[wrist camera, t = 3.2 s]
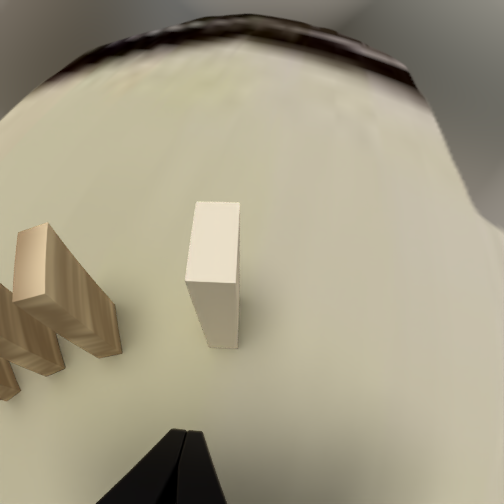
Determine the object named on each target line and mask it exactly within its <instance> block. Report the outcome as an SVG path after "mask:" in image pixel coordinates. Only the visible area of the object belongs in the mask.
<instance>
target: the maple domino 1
mask: <svg viewBox="0 0 504 504" xmlns="http://www.w3.org/2000/svg"><path fill="white" fill-rule="evenodd" d="M20 391H21V390H20V388H19V385H18V383H17V381H16V378H15V376H14V373H13V371H12V368H11V366H10V363H9V361H8V360H5V359H3V358H1V357H0V400H4V401H8V400H9V399H11V398H12V397H13V396H15V395H16V394H17V393H19V392H20Z"/></svg>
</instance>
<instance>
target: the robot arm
mask: <svg viewBox="0 0 504 504" xmlns="http://www.w3.org/2000/svg"><path fill="white" fill-rule="evenodd" d="M96 504H227V501H226V499H225V496H224V493H223V491H222V488H221V485H220V482H219V479H218V477H217V474H216V471H215V468H214V465H213V462H212V459H211V456H210V453H209V450H208V447H207V444H206V440H205V437H204V434H203V432H202V431H193V430H189V431H186V430H183V429H171V430H170V431H169V432H168V433H167V434H166V435H165V436H164V437H163V438H162V439H161V440H160V441H159V442H158V443H157V444H156V445H155V446H154V447H153V448H152V449H151V450H150V451H149V452H148V453H147V454H146V455H145V456H144V457H143V458H142V459H141V460H140V461H139V462H138V463H137V464H136V465H135V466H134V467H133V468H132V469H131V470H130V471H129V472H128V473H127V474H126V475H125V476H124V477H123V478H122V479H121V480H120V481H119V482H118V483H117V484H116V485H115V486H114V487H113V488H112V489H111V490H110V491H109V492H107V493H106V494H105V495H104V496H103V497H102V498H101V499H100V500H99V501H98V502H97V503H96Z"/></svg>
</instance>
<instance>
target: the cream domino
mask: <svg viewBox="0 0 504 504" xmlns="http://www.w3.org/2000/svg"><path fill="white" fill-rule="evenodd" d="M185 282H186V285H187V288H188V291H189V294H190V297H191V300H192V302H193V305H194V308H195V311H196V313H197V316H198V319H199V322H200V324H201V327H202V330H203V332H204V335H205V338H206V340H207V343H208V345H209V347H214V348H235V349H238V323H239V299H240V203H236V202H199V201H196V207H195V213H194V219H193V226H192V233H191V240H190V247H189V254H188V261H187V269H186V277H185Z"/></svg>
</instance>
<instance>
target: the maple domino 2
mask: <svg viewBox="0 0 504 504" xmlns="http://www.w3.org/2000/svg"><path fill="white" fill-rule="evenodd" d="M12 301H13V293H12V292H11V291H9V290H8V289H7V288H6V287H4V286H3V285H2V284H1V283H0V357H1V358H3V359H5V360H8V361H10V362H12V363H14V364H17V365H19V366H21V367H24V368H26V369H29V370H31V371H34V372H36V373H39V374H41V375H44V376H49V375H51V374H53V373H56V372H58V371H60V370H63V369H65V365H64V362H63V359H62V355H61V352H60V348H59V344H58V341H57V337H56V333H55V332H54V331H53V330H51V329H50V328H48V327H47V326H45V325H44V324H42V323H41V322H39V321H38V320H37V319H35V318H34V317H32V316H31V315H29V314H28V313H26V312H25V311H24V310H22V309H21V308H20V307H18V306H17V305H15V304H14V303H13V302H12Z"/></svg>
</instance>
